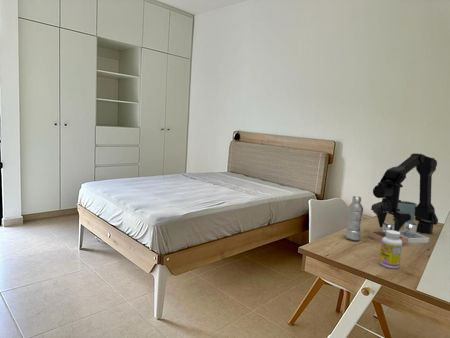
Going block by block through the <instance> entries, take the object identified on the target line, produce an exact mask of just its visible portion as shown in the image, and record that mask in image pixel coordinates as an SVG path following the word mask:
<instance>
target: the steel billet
mask: <svg viewBox="0 0 450 338" xmlns="http://www.w3.org/2000/svg"><path fill="white" fill-rule="evenodd" d="M394 224H395V223H394ZM394 224H393V223H389V222H384V223H383V227H381V231H382V235H381V237H386V231H387V230H393V231H394Z"/></svg>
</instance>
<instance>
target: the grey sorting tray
mask: <svg viewBox="0 0 450 338" xmlns="http://www.w3.org/2000/svg"><path fill="white" fill-rule="evenodd" d="M398 232H400V237H399V239H400V240H401V241H402V245H404V244H430V243H431V242H430V237H428V236H425V235H423V234H421V233H419V232H416V237H415V238H407V237H405V236H403V233H404V230H399V231H398ZM381 235H382V230H369V231H368V234H367V237H369V238H370V237H371V239H374V240H375V241H377V242H378V241H379V243H382V239H383V238H384V237H381Z"/></svg>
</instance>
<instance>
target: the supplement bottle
mask: <svg viewBox="0 0 450 338" xmlns="http://www.w3.org/2000/svg"><path fill="white" fill-rule="evenodd" d="M399 237H400V232H397V231H393V230H387V231H386V237H384V238H383V239H382V242H381V245H380V254H379V255H380V256H379V264H380V265H381V266H383V267H386V268H389V269H398V268H399V267H400V265H401V256H402V248H403V244H402V241H401V240H400V239H399Z"/></svg>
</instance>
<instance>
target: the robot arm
mask: <svg viewBox="0 0 450 338" xmlns="http://www.w3.org/2000/svg"><path fill="white" fill-rule="evenodd" d="M437 166H438V161H437V160H436V159H435V158H434V157H429V156H427V155H425V154H423V153H415V152H414V153H411V154H410V156H409V157H407V158H406V159H405V160H404V161H402V162H401V163H400V164H399V165H397V166H392V167H389V168H388V169H386V171H385V172H384V174H383V175H382V177H381V179H380V181H379V182H378V183H377V185H376V186H374V188H373V189H372V193H373V196H374V197H375V198H377V199H381V201H378V202H376V203H373V204H371V208H370V210H371V211H372V213H374V214H375V215H376V217H377V221H378V225H379V228H382V227H383V223H385V221H386V217H387V214H389V215H392V217H393V218H392V221H393V222H394V231H397V232H398V231H401V228H402V227H403V226H404V225H405V224H404V223H405V222H406V221H408V220H411V215H410V214H409V213H406V212H397V211H400V209H398V203H401V201H402V200H400V195H401V194H400V193H401V188H403V187H404V186H403V184H402V183H403V182H404V181H405V180H406V178H407V174H408V173H409V172H410V171H412V170H414V168H415V169H416V172H417V173H418V174H419V201H418V202H419V203H418V204H417V206H416V207H415V213H414V214H415V217H414V221H416V222H417V224H416V225H417V229H416V233H418V234H426V235H431V234H433V235H435V234H434V233H433V231H434V230H433V229H434V225H435V226H436V225H437V224H438V223H439V218H438V217H437V215H436V212H435V211H436V210H435V207H434V205H433V204H432V183H433V182H432V181H433V180H432V179H433V177H432V175H434V172H435V171H436V169H437Z"/></svg>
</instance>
